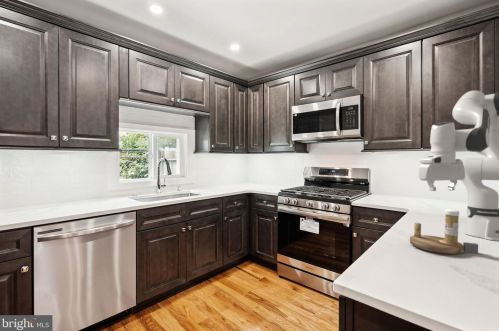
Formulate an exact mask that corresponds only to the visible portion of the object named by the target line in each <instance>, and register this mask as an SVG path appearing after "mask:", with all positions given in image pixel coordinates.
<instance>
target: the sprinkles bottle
mask: <svg viewBox="0 0 499 331" xmlns="http://www.w3.org/2000/svg"><path fill="white" fill-rule="evenodd" d="M444 214H445V220H444V221H445V223H444V238H445V239H444V241H445V242H448V243H452V244H457V243H458V242H459V241H458V240H459V223H460V222H459V216H460V210H457V209H453V208H452V209H451V208H450V209H449V208H446V209H445V210H444Z"/></svg>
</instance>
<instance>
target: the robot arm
mask: <svg viewBox="0 0 499 331" xmlns="http://www.w3.org/2000/svg"><path fill="white" fill-rule="evenodd" d="M451 112H452V113H451V115H452V118H453V119H454V120H455V122H457V123H460V124H462V125H474V127H473V128H468V129H456V127H455V122H453V121H441V122H436V123H434V124H432V126H431V129H430V135H429V136H430V137H429V143H430V152H429V155H426V156H423V157H421V158H420V159H419V163H420V165H419V169H418V178H419V180H420V181H423V182H426V183H427V185H428V187H429V191H430V192H436V191H437V187H436V186H435V185H434V184H435V181H436V182H437V181H438V182H439V181H440V182H441V181H449V182H450V184H449V186H447V190H448V191H455V190H456V188H455V187H456V185H457V183H458V181H461V182H462V184H463V185H464V186H465V188H466V191H467V198H468V199H467V201H468V205H467V208H466V216H467V221H466V225H465V229H464V231H463V233H464V234H466V235H468V236H471V237H476V238H482V239H485V240H490V241H497V242H498V241H499V193H498V191H497V190H495V189H493V188H491V187H490V186H487V185H485V184H484V183H483V181H499V92H495V93H491V94H485V93H484V92H483V91H481V90H470V91H467V92H466V93H464V94H463V95H461V97H460V98H459V99H458V100H457V101H456V103H455V105H454V106H453V108H452V111H451ZM456 152H459V153H461V152H471V153H472V152H473V153H477V154H479V155H482V156H485V157H479V158H477V157H472V158H471V157H466V158H456V154H457V153H456Z"/></svg>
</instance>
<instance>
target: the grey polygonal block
mask: <svg viewBox="0 0 499 331" xmlns="http://www.w3.org/2000/svg"><path fill="white" fill-rule="evenodd" d="M462 245H463V252H464V253H469V254H477V255H478V254H479V243H474V242H463V243H462Z"/></svg>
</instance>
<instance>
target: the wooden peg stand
mask: <svg viewBox="0 0 499 331" xmlns="http://www.w3.org/2000/svg"><path fill="white" fill-rule="evenodd" d="M413 234H414V235H410V237H409V243H410V244H411V245H412V246H414V247H415V248H419V249H421V250H425V251H429V252H433V253H434V252H435V253H440V254H452V255H453V254H455V255H456V254H462V253H463V252H464V251H463V243H461V242H459V241H458V243H457V244H452V243H448V242H445V241H444V239H445V237H441V236H435V235H427V234H422V224H421V223H420V222H414V232H413Z"/></svg>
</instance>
